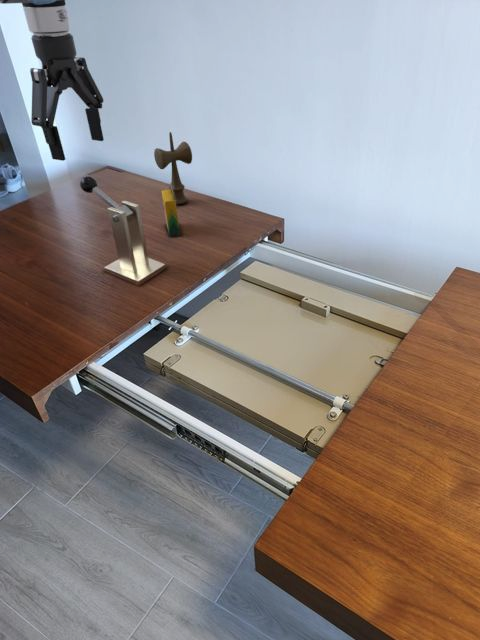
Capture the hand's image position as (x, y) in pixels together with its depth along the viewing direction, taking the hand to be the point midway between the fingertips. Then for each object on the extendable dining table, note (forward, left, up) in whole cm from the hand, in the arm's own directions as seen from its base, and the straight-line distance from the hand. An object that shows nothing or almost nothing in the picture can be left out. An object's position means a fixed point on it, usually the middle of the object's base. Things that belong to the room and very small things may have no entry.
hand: (79, 149), depth 103 cm
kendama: (+29, +14, -25) cm, 41 cm away
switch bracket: (+2, -14, -25) cm, 28 cm away
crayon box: (+19, -1, -25) cm, 32 cm away
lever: (0, -8, -10) cm, 13 cm away
